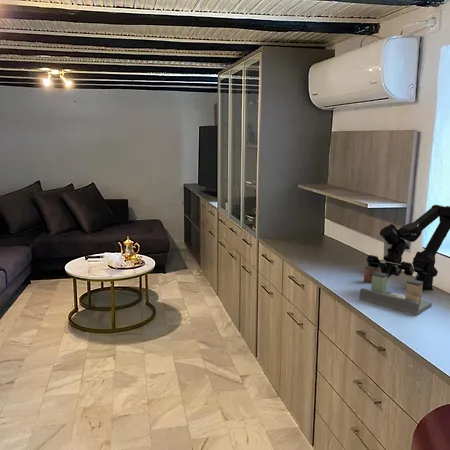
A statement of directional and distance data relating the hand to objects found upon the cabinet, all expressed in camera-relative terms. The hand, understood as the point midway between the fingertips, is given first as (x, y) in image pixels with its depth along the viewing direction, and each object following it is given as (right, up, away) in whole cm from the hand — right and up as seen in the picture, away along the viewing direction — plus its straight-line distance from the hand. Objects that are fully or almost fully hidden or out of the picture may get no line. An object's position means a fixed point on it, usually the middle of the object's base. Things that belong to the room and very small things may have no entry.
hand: (382, 281), depth 190 cm
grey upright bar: (+15, -1, +38) cm, 41 cm away
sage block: (-2, -5, -1) cm, 6 cm away
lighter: (+3, -3, +23) cm, 23 cm away
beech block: (+8, -7, -10) cm, 15 cm away
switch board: (+3, -8, -5) cm, 10 cm away
